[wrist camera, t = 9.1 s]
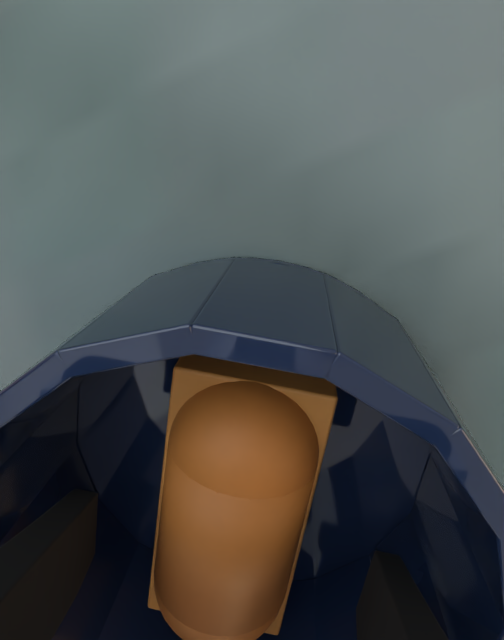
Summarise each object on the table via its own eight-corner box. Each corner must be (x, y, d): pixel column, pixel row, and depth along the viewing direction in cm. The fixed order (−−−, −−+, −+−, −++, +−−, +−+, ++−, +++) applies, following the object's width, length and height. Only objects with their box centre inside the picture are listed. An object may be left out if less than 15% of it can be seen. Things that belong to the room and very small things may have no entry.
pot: (496, 298, 14) (652, 409, 8) (385, 611, 18) (427, 838, 12) (72, 223, 14) (-98, 270, 8) (65, 544, 19) (-48, 729, 13)
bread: (199, 323, 14) (149, 402, 10) (331, 348, 14) (345, 440, 10) (173, 531, 17) (125, 668, 13) (282, 554, 17) (275, 701, 13)
